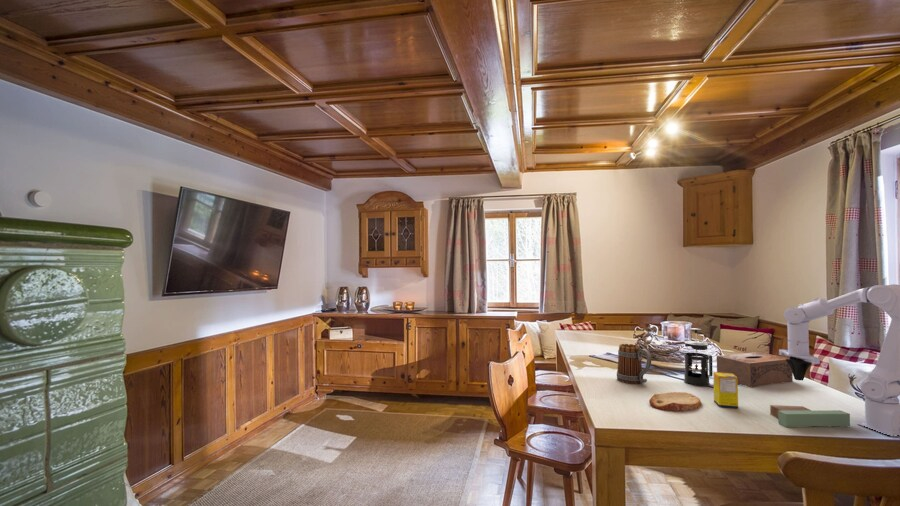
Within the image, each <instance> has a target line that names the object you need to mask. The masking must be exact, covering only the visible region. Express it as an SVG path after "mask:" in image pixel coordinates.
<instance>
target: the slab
mask: <svg viewBox="0 0 900 506" xmlns="http://www.w3.org/2000/svg"><path fill="white" fill-rule="evenodd" d="M769 408H770V411H769V412H770V413H769V415H770V416H772V417H774V418H776V419H777V420H778V411H813V410H811V409H809V408H807V407H806V406H803V405H801V406H800V405H780V404H779V405H777V404H774V405H773V404H770V405H769Z"/></svg>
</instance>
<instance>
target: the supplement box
mask: <svg viewBox="0 0 900 506" xmlns="http://www.w3.org/2000/svg"><path fill="white" fill-rule="evenodd" d="M712 377H713V378H712V379H713V402H714V403H715V405H716V406H717V407H719V408H731V409H739V394H738V393H739V392H738V391H739V390H738V389H739V388H738V386H739V384H738V380H737V377H736V376H735V375H733V374H732V373H720V372H717V371H713V376H712Z"/></svg>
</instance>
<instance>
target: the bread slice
mask: <svg viewBox="0 0 900 506" xmlns="http://www.w3.org/2000/svg"><path fill="white" fill-rule="evenodd" d="M648 401H649V406H651V408H652V409H655V410H659V411H664V412H665V411H669V412H690V411H694V410H696V409H699V408H700V407H701V406H702V402H701V398H699V397H698V396H697V395H694V394H692V393H688V392H686V391H684V392H683V391H678V392H677V391H674V392H664V393H663V392H662V393H654V394H653V395H652V396H651V397H650V399H649V400H648Z"/></svg>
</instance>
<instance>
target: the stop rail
mask: <svg viewBox="0 0 900 506" xmlns="http://www.w3.org/2000/svg"><path fill="white" fill-rule="evenodd" d="M777 420H778V423H779V425H781V426H783V427H785V426H786V427H785V428H808V427H807V426H840V427H839V428H844V427H843V426H850V427H851V414H850V413H848V412H846V411H843V410H839V409H838V410H835V409H834V410H829V409H828V410H812V411H778V419H777Z"/></svg>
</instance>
